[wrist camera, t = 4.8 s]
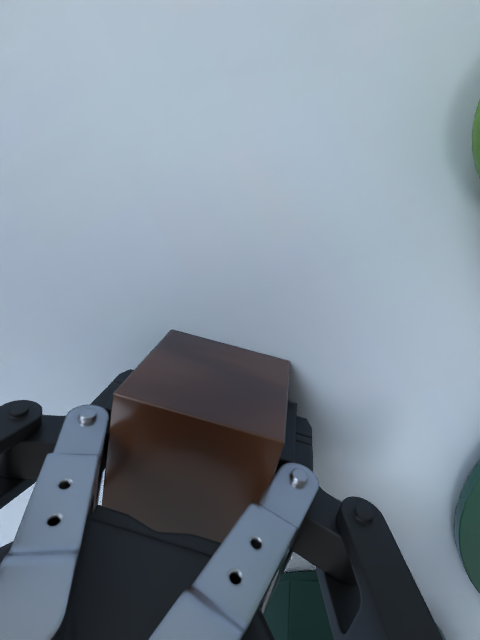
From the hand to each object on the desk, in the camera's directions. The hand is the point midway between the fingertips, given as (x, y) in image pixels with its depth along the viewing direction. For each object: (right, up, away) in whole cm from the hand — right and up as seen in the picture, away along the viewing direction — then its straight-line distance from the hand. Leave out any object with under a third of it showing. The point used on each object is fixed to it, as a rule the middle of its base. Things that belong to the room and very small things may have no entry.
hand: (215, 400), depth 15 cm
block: (0, 0, 0) cm, 0 cm away
